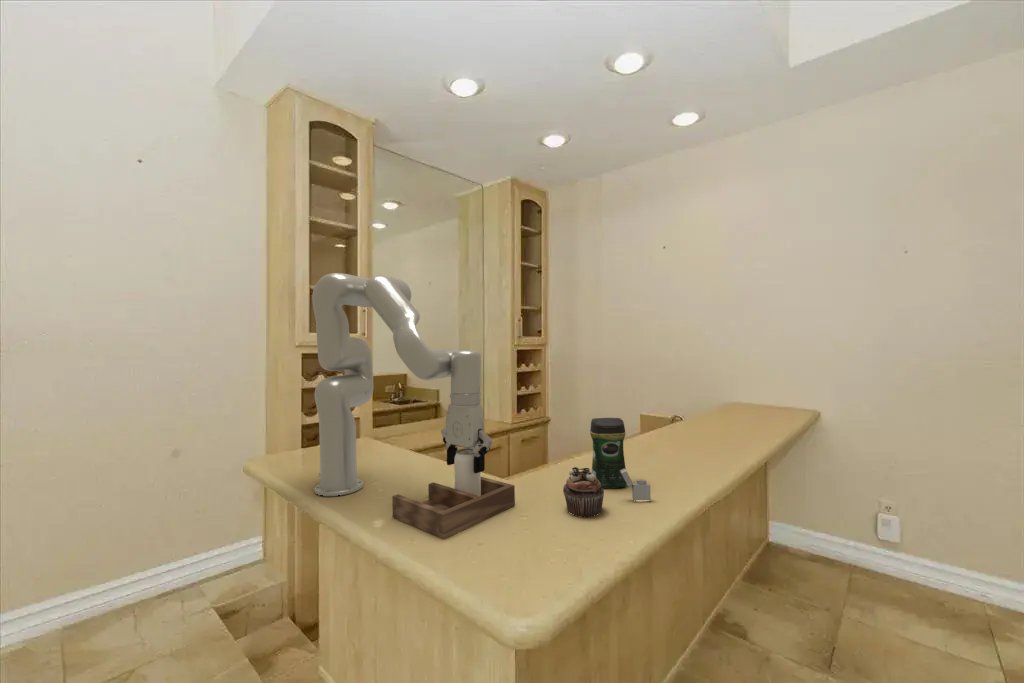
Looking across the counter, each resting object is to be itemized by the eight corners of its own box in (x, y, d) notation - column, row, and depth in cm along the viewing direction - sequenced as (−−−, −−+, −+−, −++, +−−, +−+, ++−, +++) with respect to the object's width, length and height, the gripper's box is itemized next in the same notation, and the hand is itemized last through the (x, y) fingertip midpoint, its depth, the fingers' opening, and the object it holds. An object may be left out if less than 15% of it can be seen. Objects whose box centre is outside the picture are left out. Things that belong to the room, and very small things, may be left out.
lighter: (648, 499, 109) (648, 467, 109) (650, 502, 108) (650, 469, 107) (620, 499, 110) (619, 468, 110) (621, 502, 108) (621, 470, 108)
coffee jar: (623, 479, 125) (621, 415, 125) (629, 489, 117) (628, 420, 117) (589, 480, 125) (587, 415, 125) (593, 489, 117) (592, 420, 117)
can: (482, 494, 112) (482, 447, 112) (478, 503, 105) (477, 454, 105) (458, 494, 112) (457, 447, 112) (452, 503, 106) (451, 454, 106)
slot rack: (392, 517, 101) (392, 496, 101) (464, 490, 119) (463, 472, 119) (444, 539, 90) (443, 514, 90) (514, 505, 107) (514, 485, 107)
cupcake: (610, 517, 99) (609, 473, 99) (568, 520, 98) (567, 475, 98) (598, 502, 108) (597, 462, 108) (560, 504, 108) (559, 463, 107)
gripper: (431, 397, 111) (431, 464, 112) (480, 405, 100) (479, 479, 101) (453, 394, 117) (453, 458, 117) (501, 401, 106) (501, 471, 106)
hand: (465, 467), depth 109 cm, fingers open, 9 cm apart
